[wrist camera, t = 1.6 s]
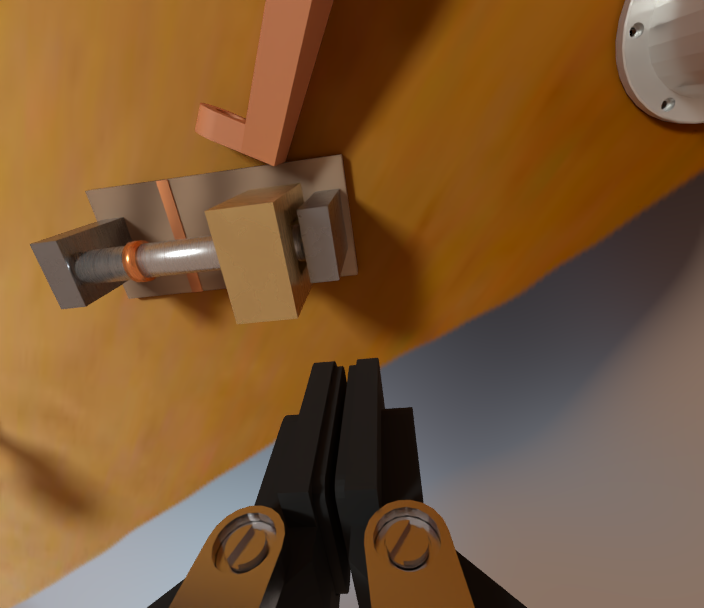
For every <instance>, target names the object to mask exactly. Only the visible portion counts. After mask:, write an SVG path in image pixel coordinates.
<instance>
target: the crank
mask: <svg viewBox="0 0 704 608" xmlns="http://www.w3.org/2000/svg"><path fill="white" fill-rule="evenodd" d="M333 1H334V0H266V3H265V9H264V15H263V21H262V27H261V33H260V39H259V45H258V51H257V57H256V63H255V69H254V75H253V81H252V87H251V93H250V99H249V105H248V111H247V117H246V118H243V117H241V116H238V115H236V114H234V113H231V112H229V111H227V110H224V109H221V108H218V107H215V106H212V105H209V104H205V103H200V108H199V113H198V118H197V123H196V128H195V131H196V132H197V133H198V134H200V135H201V136H203V137H205V138H207V139H209V140H212V141H214V142H216V143H219V144H221V145H224V146H226V147H229V148H231V149H233V150H236V151H238V152H241V153H243V154H246V155H248V156H250V157H253V158H255V159H258V160H260V161H263V162H265V163H267V164H270V165H272V166H276V165H279V164H282V163H284V162H286V159H287V155H288V152H289V149H290V145H291V142H292V139H293V135H294V132H295V129H296V125H297V122H298V119H299V115H300V112H301V108H302V105H303V102H304V98H305V95H306V92H307V88H308V85H309V82H310V78H311V75H312V71H313V68H314V65H315V61H316V58H317V55H318V51H319V48H320V45H321V41H322V38H323V34H324V31H325V28H326V24H327V21H328V18H329V14H330V11H331V8H332V4H333Z"/></svg>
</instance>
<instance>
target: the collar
mask: <svg viewBox="0 0 704 608" xmlns="http://www.w3.org/2000/svg"><path fill="white" fill-rule="evenodd" d="M303 203H304V198H303V192H302V187H301V183H295V184H287V185H280V186H273V187H265V188H258V189H251V190H248V191H245V192H243V193H241V194H239V195H237V196H235V197H233V198H231V199H229V200H227V201H225V202H222V203H220V204H218V205H216V206H214V207H212V208H210V209H208V210H206V211H204V212H205V215H206V219H207V222H208V226H209V229H210V233H211V236H212V239H213V243H214V246H215V250H216V253H217V257H218V260H219V264H220V267H221V271H222V274H223V278H224V281H225V285H226V288H227V291H228V295H229V298H230V302H231V305H232V309H233V312H234V316H235V319H236V323H237V324H243V323H254V322H265V321H275V320H286V319H297V318H298V317H299V315H300V312H301V310H302V308H303V305H304V303H305V301H306V298H307V296H308V294H309V292H310V289H311V287H312V285H313V283H311V282H310V277H309V272H308V267H307V262H306V260H305V261H298V260H297V255H296V250H295V245H294V240H293V235H292V230H291V225H299V220H298V215H297V209H298V208H299V207H300V206H301V205H302V204H303Z"/></svg>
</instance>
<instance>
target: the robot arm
mask: <svg viewBox="0 0 704 608" xmlns="http://www.w3.org/2000/svg"><path fill="white" fill-rule="evenodd" d="M630 29H631V30H632V36H630ZM616 62H617V67H618V72H619V77H620V80H621V82H622V84H623V86H624V89H625V91H626V93H627V94H628V96H629V97H630V98H631V99H632V101H633V102H634V103H635V104H636V106H638V107H639V108H640V109H642V110H643V111H644V112H646V113H647V114H648V115H650V116H653V117H655V118H657V119H660V120H662V121H666V122H672V123H678V124H697V123H704V0H625V3H624V6H623V9H622V12H621V16H620V19H619V24H618V30H617V36H616ZM662 103H663V106H662V108H661V105H662ZM350 572H351V573H352V578H353V582H354V587H355V591H356V596H357V600H358V605H359V608H527V607H526V606H524V605H523V604H522V603H521V602H519V601H518V600H517V599H515V598H514V597H513V596H512V595H510V594H509V593H508V592H507V591H506V590H505V589H503V588H502V587H501V586H499V585H498V584H497V583H496V582H495V581H493V580H492V579H491V578H490V577H488V576H487V575H486V574H485V573H483V572H482V571H481V570H480V569H478V568H477V567H476V566H475V565H473V564H472V563H471V562H470V561H469V560H467V559H466V558H465V557H464V556H462V555H461V554H460V553H459V552H457V551H456V550H455V547H454V545H453V541H452V539H451V536H450V532H449V530H448V528H447V526H446V524H445V522H444V520H443V518H442V517H441V516H440V515H439V514H438V513H437V512H436V511H435V510H434V509H433V508H431V507H429V506H427V505H425V504H424V503H423V495H422V486H421V477H420V469H419V461H418V452H417V443H416V434H415V426H414V417H413V409H412V407H408V408H392V409H385V406H384V397H383V390H382V382H381V374H380V366H379V359H378V358H370V359H358V360H357V364H356V365H352V366H349V372H348V380H347V381H346V375H345V370H344V367H343V366H339V367H337V365H336V362H335V361H333V362H320V363H314V364H313V367H312V370H311V374H310V377H309V381H308V385H307V388H306V392H305V395H304V399H303V402H302V406H301V409H300V413H299V415H287V416H285V417H284V419H283V421H282V424H281V427H280V430H279V433H278V436H277V439H276V442H275V445H274V448H273V451H272V454H271V457H270V460H269V463H268V466H267V469H266V472H265V475H264V478H263V481H262V484H261V487H260V490H259V494H258V496H257V500H256V502H255V505H254V506H249V507H246V508H242V509H239V510H237V511H235V512H234V513H232V514H230V515H228V516H227V517H226V518H225V519H224V520H222V521H221V522H220V523H219V524H218V525H217V526H216V527H215V529H214V530H213V531H212V533H211V534H210V536H209V537H208V539H207V541H206V543H205V544H204V546H203V548H202V549H201V551H200V553H199V555H198V557H197V558H196V560H195V562H194V564H193V565H192V567H191V569H190V571H189V572H188V574H187V576H186V578H185V579H184V580H182V581H181V582H180V583H178V584H177V585H176V586H175V587H173V588H172V589H171V590H169V591H168V592H167V593H165V594H164V595H163V596H161V597H160V598H159V599H158V600H156V601H155V602H154V603H152V604H151V605H150V606H149V607H147V608H339V601H340V594H347V593H348V592H349V586H350Z"/></svg>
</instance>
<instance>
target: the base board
mask: <svg viewBox="0 0 704 608" xmlns="http://www.w3.org/2000/svg"><path fill="white" fill-rule="evenodd" d="M295 183H301V187H302V192H303V198H304V202H305V201H306V200H307V199H308V198H309V197H310V196H311V195H312V194H313V193H314V192H316V191H324V190H331V189H339V188H340V195H341V202H342V209H343V216H344V223H345V230H346V237H347V244H348V250H347V254H346V258H345V261H344V265H343V269H342V272H341V276H349V275H358V267H357V260H356V252H355V245H354V238H353V231H352V223H351V216H350V209H349V201H348V194H347V187H346V180H345V172H344V165H343V158H342V154H339V155H332V156H325V157H318V158H311V159H304V160H297V161H290V162H284V163H282V164H279V165H276V166H272V165H270V164H269V165H262V166H255V167H248V168H241V169H234V170H227V171H220V172H213V173H206V174H199V175H192V176H185V177H178V178H171V179H164V180H157V181H150V182H143V183H136V184H129V185H122V186H115V187H108V188H101V189H94V190H89V191H85V192H86V194H87V197H88V199H89V202H90V204H91V207H92V209H93V212H94V214H95V217H96V219H97V221H100V220H105V219H112V218H120V217H124V220H125V223H126V225H127V228H128V231H129V233H130V236H131V239H132V241H140V240H145V241H147V242H149V243H153V242H161V241H169V240H177V239H185V238H193V237H201V236H210V235H211V233H210V229H209V226H208V222H207V219H206V215H205V212H204V211H206V210H208V209H210V208H212V207H214V206H216V205H218V204H220V203H222V202H225V201H227V200H229V199H231V198H233V197H235V196H237V195H239V194H241V193H243V192H245V191H248V190H251V189H258V188H265V187H273V186H280V185H287V184H295ZM123 286H124V288H125V291H126V293H127V296H128V298H129V299H131V298H140V297H150V296H159V295H169V294H178V293H188V292H201V291H207V290H216V289H226V285H225V281H224V278H223V274H222V271H221V270H215V271H206V272H197V273H188V274H179V275H170V276H161V277H156V278H155V279H154V280H152V281H147V282H135V281H133V280H129V281H127V282H125V283H124V284H123Z"/></svg>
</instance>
